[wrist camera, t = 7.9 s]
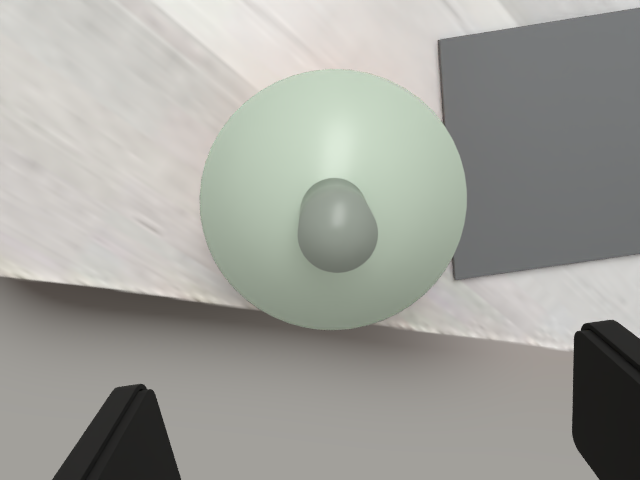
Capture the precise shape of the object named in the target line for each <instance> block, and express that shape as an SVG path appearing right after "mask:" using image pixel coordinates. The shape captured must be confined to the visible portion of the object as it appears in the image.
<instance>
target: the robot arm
mask: <svg viewBox="0 0 640 480" xmlns="http://www.w3.org/2000/svg"><path fill="white" fill-rule="evenodd" d="M572 435H573V440H574V443H575V445H576V447H577V449H578V451H579V452H580V453H581V455H582V456H583V458H584V459H585V461H586V462H587V463H588V465H589V466H590V467H591V469H592V470H593V471H594V472H595V474H596V475H597V477H598V478H599V480H640V339H639V338H638V337H636V336H635V335H634V334H633V333H631V332H630V331H629V330H627V329H626V328H625V327H623V326H622V325H621V324H619V323H618V322H616V321H614V320H606V321H599V322H592V323H585V324H584V325H583V326H582V328H581V331H577V332H576V333H575V335H574V368H573V417H572ZM52 480H181V478H180V474H179V471H178V468H177V464H176V461H175V458H174V454H173V451H172V448H171V445H170V442H169V438H168V435H167V431H166V428H165V425H164V422H163V418H162V415H161V412H160V408H159V405H158V402H157V399H156V395H155V393H154V391H153V390H151V389H149V390H147V389H146V387H145V385H143V384H137V385H129V386H122V387H117V388H115V389H114V390H113V391H112V393H111V394H110V396H109V397H108V398H107V400H106V402H105V403H104V404H103V406H102V407H101V409H100V410H99V412H98V413H97V415H96V416H95V418H94V419H93V421H92V422H91V424H90V425H89V426H88V428H87V429H86V431H85V432H84V434H83V435H82V437H81V438H80V440H79V441H78V443H77V444H76V446H75V447H74V449H73V450H72V451H71V453H70V454H69V456H68V457H67V459H66V460H65V462H64V463H63V465H62V466H61V468H60V469H59V470H58V472H57V473H56V475H55V476H54V478H53V479H52Z"/></svg>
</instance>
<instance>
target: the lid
mask: <svg viewBox="0 0 640 480" xmlns="http://www.w3.org/2000/svg"><path fill="white" fill-rule="evenodd" d="M466 209H467V188H466V180H465V173H464V169H463V165H462V162H461V158H460V155H459V153H458V150H457V148H456V146H455V143H454V141H453V139H452V137H451V136H450V134H449V132H448V131H447V129H446V127H445V126H444V124H443V123H442V122H441V121H440V119H439V118H438V117H437V116H436V114H435V113H434V112H433V111H432V110H431V109H430V108H429V107H428V106H427V105H426V104H425V103H424V102H422V101H421V100H420V99H419V98H418V97H416V96H415V95H413V94H412V93H411V92H409V91H408V90H406V89H405V88H403V87H401V86H399V85H397V84H395V83H393V82H391V81H389V80H387V79H384V78H381V77H378V76H376V75H373V74H370V73H364V72H359V71H354V70H342V69H327V70H316V71H310V72H306V73H301V74H297V75H293V76H291V77H288V78H286V79H283V80H280V81H278V82H276V83H274V84H272V85H270V86H269V87H267V88H265V89H263V90H261V91H260V92H258V93H257V94H256V95H254V96H253V97H252V98H250V99H249V100H248V101H246V102H245V103H244V104H243V105H242V106H241V107H240V108H239V109H238V110H237V111H236V112H235V113H234V114H233V115H232V116H231V118H230V119H229V120H228V121H227V123H226V124H225V125H224V127H223V128H222V129H221V131H220V133H219V134H218V136H217V138H216V140H215V142H214V143H213V145H212V147H211V150H210V152H209V155H208V158H207V160H206V163H205V167H204V171H203V175H202V179H201V189H200V216H201V221H202V227H203V232H204V235H205V239H206V242H207V245H208V248H209V250H210V252H211V254H212V256H213V259H214V261H215V263H216V264H217V266H218V267H219V269H220V271H221V272H222V274H223V275H224V277H225V278H226V279H227V280H228V282H229V283H230V284H231V285H232V286H233V288H234V289H235V290H236V291H237V292H239V293H240V294H241V295H242V296H243V297H244V298H245V299H246V300H247V301H249V302H250V303H251V304H253V305H254V306H256V307H257V308H258V309H260V310H262V311H263V312H265V313H267V314H269V315H271V316H272V317H275V318H277V319H279V320H282V321H285V322H287V323H290V324H294V325H297V326H301V327H306V328H312V329H319V330H343V329H353V328H357V327H362V326H367V325H370V324H373V323H376V322H379V321H382V320H385V319H387V318H389V317H391V316H393V315H395V314H397V313H399V312H401V311H402V310H404V309H405V308H407V307H409V306H410V305H412V304H413V303H414V302H415V301H417V300H418V299H419V298H420V297H422V296H423V295H424V294H425V293H426V292H427V291H428V290H429V289H430V288H431V287H432V286H433V285H434V284H435V283H436V281H437V280H438V279H439V277H440V276H441V275H442V273H443V272H444V271H445V269H446V268H447V266H448V264H449V262H450V261H451V259H452V257H453V255H454V253H455V251H456V248H457V246H458V244H459V241H460V238H461V235H462V231H463V227H464V223H465V216H466Z"/></svg>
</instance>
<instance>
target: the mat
mask: <svg viewBox="0 0 640 480" xmlns="http://www.w3.org/2000/svg"><path fill="white" fill-rule="evenodd" d="M438 47H439V63H440V78H441V93H442V108H443V123H444V126H445V127H446V129H447V131H448V132H449V134H450V136H451V137H452V139H453V141H454V143H455V146H456V148H457V150H458V153H459V155H460V158H461V162H462V165H463V169H464V173H465V180H466V188H467V209H466V216H465V223H464V227H463V231H462V235H461V238H460V241H459V244H458V246H457V248H456V251H455V253H454V255H453V257H452V259H453V274H454V279H455V280H459V279H466V278H473V277H480V276H487V275H494V274H501V273H508V272H515V271H522V270H529V269H536V268H543V267H550V266H557V265H564V264H571V263H579V262H586V261H593V260H600V259H607V258H614V257H621V256H628V255H635V254H640V8H635V9H629V10H622V11H616V12H610V13H604V14H597V15H591V16H585V17H579V18H572V19H566V20H560V21H553V22H547V23H541V24H535V25H528V26H522V27H516V28H510V29H503V30H497V31H491V32H484V33H478V34H472V35H466V36H459V37H453V38H447V39H441V40H438Z"/></svg>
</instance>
